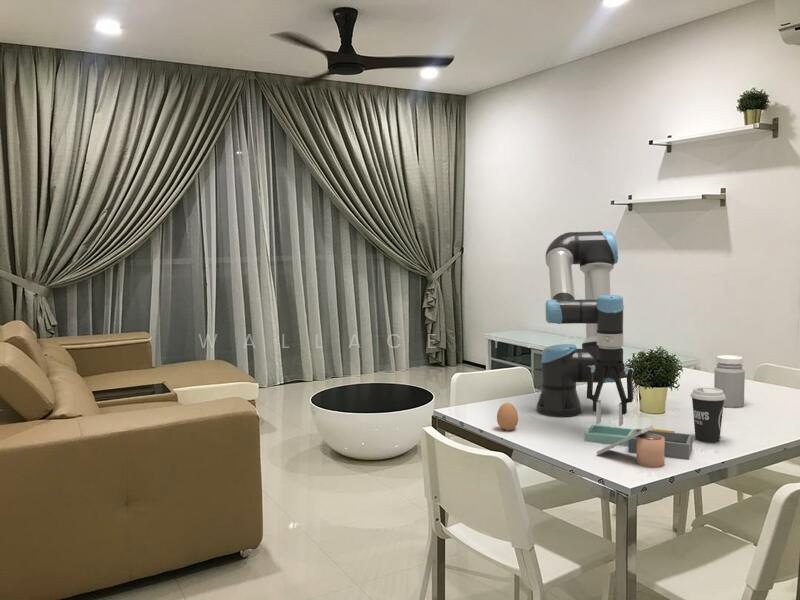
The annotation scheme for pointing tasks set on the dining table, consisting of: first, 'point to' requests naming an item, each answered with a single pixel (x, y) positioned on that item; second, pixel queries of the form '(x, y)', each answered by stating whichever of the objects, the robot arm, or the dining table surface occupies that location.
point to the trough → (607, 434)
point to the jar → (730, 380)
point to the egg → (507, 416)
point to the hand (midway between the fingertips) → (609, 423)
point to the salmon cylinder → (650, 450)
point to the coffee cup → (707, 413)
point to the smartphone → (625, 439)
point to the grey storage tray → (670, 447)
